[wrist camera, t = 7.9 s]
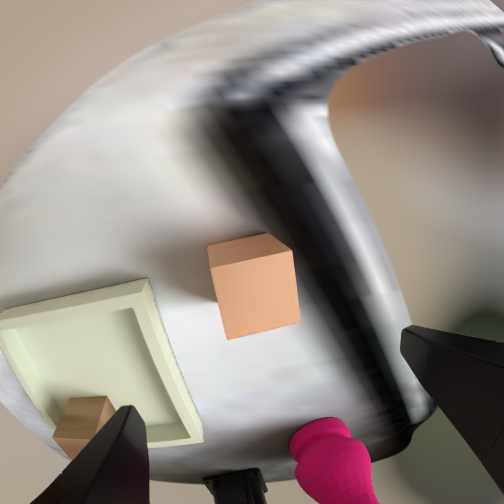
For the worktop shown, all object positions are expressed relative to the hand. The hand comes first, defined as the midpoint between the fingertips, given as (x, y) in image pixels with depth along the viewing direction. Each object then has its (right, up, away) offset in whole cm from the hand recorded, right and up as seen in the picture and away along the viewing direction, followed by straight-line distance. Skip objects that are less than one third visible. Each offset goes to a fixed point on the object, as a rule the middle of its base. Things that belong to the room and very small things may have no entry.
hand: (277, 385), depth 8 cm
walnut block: (-14, -10, +11) cm, 20 cm away
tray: (-13, -6, +11) cm, 18 cm away
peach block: (-1, +3, +11) cm, 11 cm away
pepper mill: (+6, -15, +17) cm, 23 cm away
